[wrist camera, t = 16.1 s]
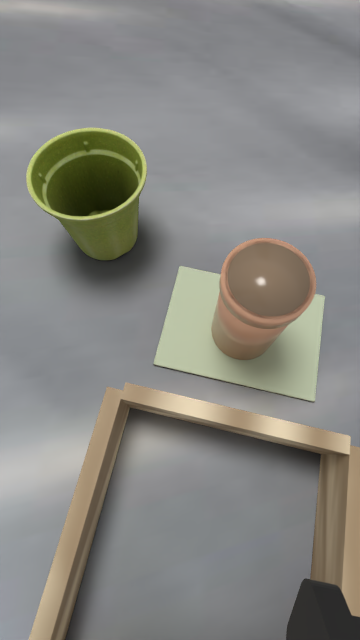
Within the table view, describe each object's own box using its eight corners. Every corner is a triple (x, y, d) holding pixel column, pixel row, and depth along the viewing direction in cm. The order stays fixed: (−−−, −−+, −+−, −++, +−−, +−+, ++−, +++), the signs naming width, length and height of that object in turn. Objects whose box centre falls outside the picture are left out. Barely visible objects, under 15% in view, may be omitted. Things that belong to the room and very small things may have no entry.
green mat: (153, 364, 30) (153, 363, 30) (179, 267, 34) (179, 265, 34) (313, 402, 29) (314, 401, 29) (323, 297, 33) (324, 296, 33)
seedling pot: (202, 353, 31) (212, 310, 21) (216, 293, 33) (230, 229, 23) (270, 369, 30) (311, 331, 21) (279, 307, 32) (320, 247, 23)
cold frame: (41, 657, 23) (7, 709, 19) (120, 390, 30) (109, 378, 25) (316, 743, 22) (353, 822, 17) (337, 442, 28) (368, 440, 24)
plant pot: (73, 193, 37) (43, 121, 29) (160, 202, 37) (154, 132, 29) (51, 270, 34) (10, 212, 26) (146, 280, 33) (135, 225, 25)
